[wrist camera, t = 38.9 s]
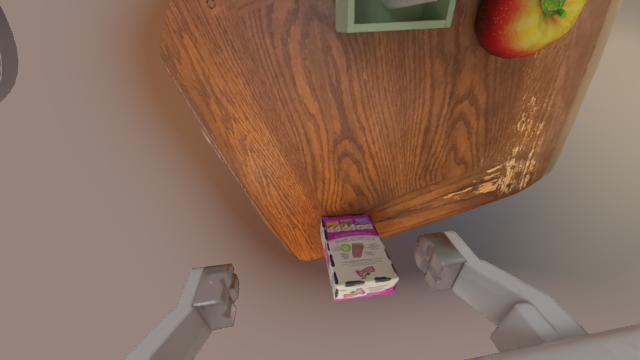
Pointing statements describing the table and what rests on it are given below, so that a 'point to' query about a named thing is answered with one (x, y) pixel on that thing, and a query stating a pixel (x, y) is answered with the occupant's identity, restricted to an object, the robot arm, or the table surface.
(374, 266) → the candy bar box
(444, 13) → the chest
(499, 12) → the fruit
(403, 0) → the cosmetic box
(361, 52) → the table surface
